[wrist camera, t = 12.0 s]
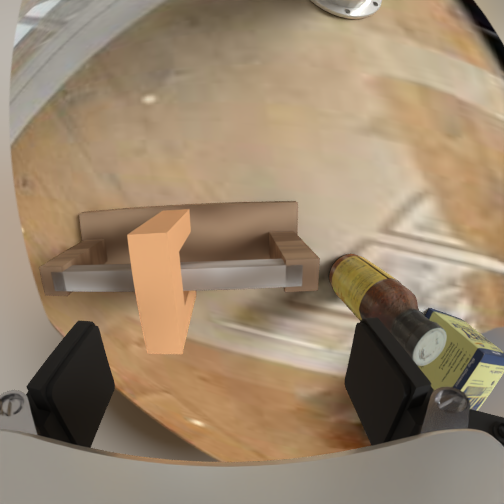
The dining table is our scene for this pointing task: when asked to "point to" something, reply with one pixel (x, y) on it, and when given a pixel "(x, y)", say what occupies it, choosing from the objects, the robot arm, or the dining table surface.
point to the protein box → (464, 360)
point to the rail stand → (192, 250)
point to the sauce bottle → (387, 306)
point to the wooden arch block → (161, 280)
